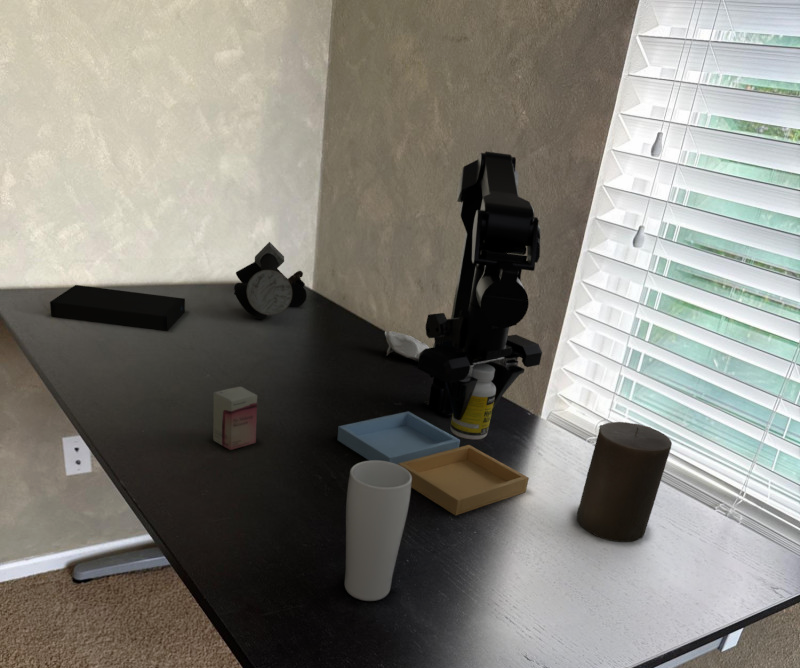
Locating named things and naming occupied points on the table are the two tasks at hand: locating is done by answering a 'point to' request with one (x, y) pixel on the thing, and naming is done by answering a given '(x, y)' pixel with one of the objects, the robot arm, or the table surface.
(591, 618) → the table surface
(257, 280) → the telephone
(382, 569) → the drinking glass
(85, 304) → the external hard drive
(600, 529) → the pillar candle
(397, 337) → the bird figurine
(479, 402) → the supplement bottle
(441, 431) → the tray
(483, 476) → the tray
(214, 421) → the small box
